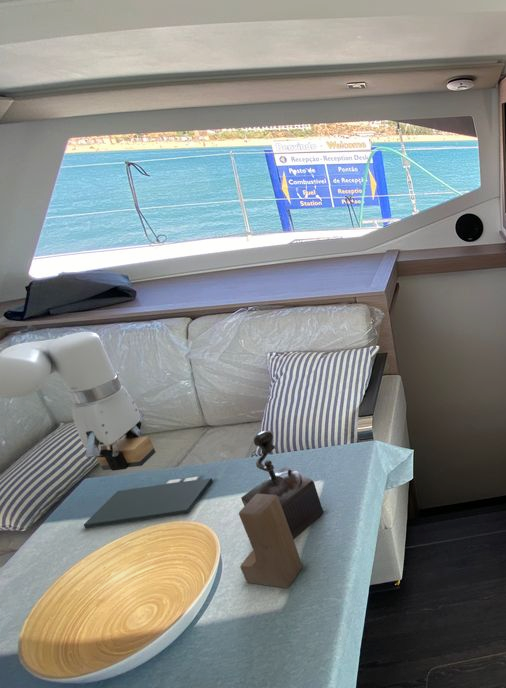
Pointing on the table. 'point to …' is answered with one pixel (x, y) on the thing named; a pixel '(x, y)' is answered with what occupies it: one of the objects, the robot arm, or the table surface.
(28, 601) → the table surface
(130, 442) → the eraser
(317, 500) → the manual coffee grinder
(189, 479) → the chalk mark
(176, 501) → the slate board
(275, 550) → the wooden block
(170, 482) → the chalk mark
